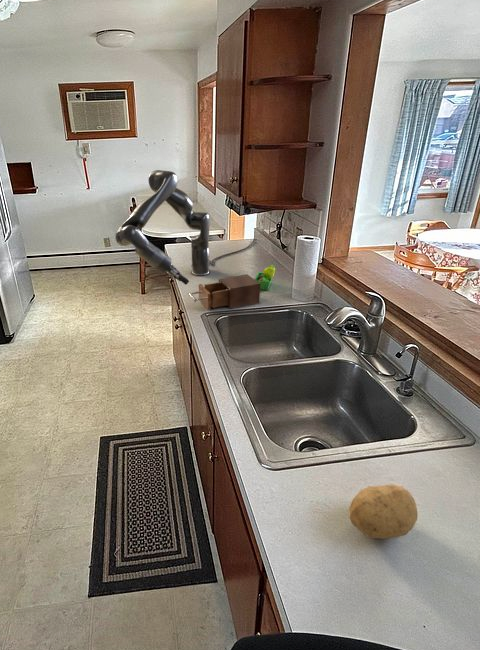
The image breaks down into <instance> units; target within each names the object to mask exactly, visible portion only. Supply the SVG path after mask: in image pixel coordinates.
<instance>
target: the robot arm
mask: <svg viewBox="0 0 480 650" xmlns="http://www.w3.org/2000/svg"><path fill="white" fill-rule="evenodd" d="M147 180H148V186H149V188H150V189H151V190H152V192H153V194H151V195H150V196H148V197H147V198H145V199H143V200H142V201H141V202H139V203H138V204H137V206H136V207H135V208H134V210H133V211H132V213H130V216H129V217H128V218H127V219H126V220H125V221H124V222H123V223H122V224H121V225H120V227H119V228H118V229H117V230H116V232H115V241H116V243H117V244H118V245H120V246H123V247H127V246H129V245H132V246H133V247H134V252H135V254H136V255H138V257H140V258H141V259H142V260H144V261H145V262H146V263H147V264H148V265H149V266H150V267H152V268H153V269H155V271H157V272H159V273H160V274H164V273H165V272H166V273H167V274H168V275H169V276H170V277H173V278H174V279H175V280H177V281H178V282H181V283H182V284H184V286H185V285H188V283H189V282H190V281H189V279H188V278H187V277H185V275H183V274H182V272H180V271H179V269H178V268H177V267H175V266H174V265H173V259H172V258H171V257H170V256H169V255H168V254H166V253H165V252H164V251H163V250H161V249H160V248H159V247H157V246H156V245H154V244H153V243H152V242H151V241H149V240H148V239H147V237H146V236H145V234H144V233H143V232H142V231H141V230H142V229H144V227H145V226H146V225H147V223H148V222H149V221H150V218H151V217H152V216H153V215H154V213H155V212H156V211H157V210H158V209H159V208H160V207H161V206H162V205H163V203H165V202H166V203H167V204H168V205H169V206H170V207H171V208H172V209H173V210H174V211H175V213H176V214H178V215H179V217H180V218H182V220H183V221H184V223H185V225H186V226H187V227H188V229H190V230H193V231H199V233H198V234H196V235H194V236H192V237H191V239H190V245H191V247H190V248H191V274H192V275H194V276H206V275H208V274H209V273H210V267H211V266H214V265H215V261H216V260H218V259H221V258H223V257H225V256H226V257H227V256H229V255H233V254H237V253H239V252H243V251H244V250H247V249H249V248H251V247H252V246H253V245H254V243H255V241H257V238H256V239H255V238H254V239H253V241H252V242H251V244H250V245H248V246H246V247H244V248H242V249H239V250H236V251H232V252H229V253H226V254H222V255H219V256H216V257H215V258H213V259H212V261H211V260H210V254H209V253H210V252H209V251H210V250H209V249H210V247H209V245H210V244H209V242H210V241H209V240H210V225H211V219H210V214H209V213H208V212H204V211H194V210H193V209H194V203H193V200H192V198H191V197H190V196H189V195H188V194H187V193H186V192H185V191H183V190H181V189H179V188H178V181H179V179H178V176H177V174H176V173H175V172H174V171H171V170H163V169H156V170H153V171H151V172H150V173H149V176H148V179H147Z"/></svg>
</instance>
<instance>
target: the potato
mask: <svg viewBox="0 0 480 650" xmlns="http://www.w3.org/2000/svg"><path fill="white" fill-rule="evenodd" d="M348 514H349V519H350V522H351V524H352V525H353V526H354V527H355V528H356V529H357V530H358V531H359V532H361V533H362V534H364V535H365V536H366V537H368V538H372V539H393V538H398V537H403V536H406V535H407V534H408V533H409V532H411V530H412V529H413V528H414V527H415V525H416V524H417V523H416V522H417V521H418V515H419V514H418V506H417V503H416V500H415V498H414V497H413V495H412V493H411V492H410V491H409V490H408V489H406V488H405V487H404V486H402V485H398V484H395V483H394V484H381V485H372V486H371V485H370V486H367V487H364V488H362V489H360V490H359V491H358V493H357V494H356V495H355V496H354V497H353V498H352V499H351V503H350V505H349V508H348Z"/></svg>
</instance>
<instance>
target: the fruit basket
mask: <svg viewBox="0 0 480 650" xmlns="http://www.w3.org/2000/svg"><path fill="white" fill-rule="evenodd" d="M275 271H276V268H275V266H274V265H273V264H271V265H269V266H268V267H265V268H264V269H263V271H262V272H257V274H256V276H255V278H254V279H255V280H256V281H257V282H259V283H260V291H268V290H269V287H270V286H271V282H272V279H273V277H274V276H275Z"/></svg>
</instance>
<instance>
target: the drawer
mask: <svg viewBox="0 0 480 650" xmlns="http://www.w3.org/2000/svg"><path fill="white" fill-rule="evenodd" d="M197 294H198V298H196V297H195V296H194V295H197ZM187 295H188V296H189V297H190V299H191V300H192V301H193V302H195V303H197V301H199V303H201V304H202V306H204V307H205V308H206V310H208V311H211V310H212V308H214V309H215V308H220V307H225V306H226V307H227V305H229V289H228V288H227V287H226V286H224V285H223V284H222V283H221V282H219V281H216V282H212V283H206V284H204V285H202V283H199V284H198V291H194V292H189V291H188V292H187Z"/></svg>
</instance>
